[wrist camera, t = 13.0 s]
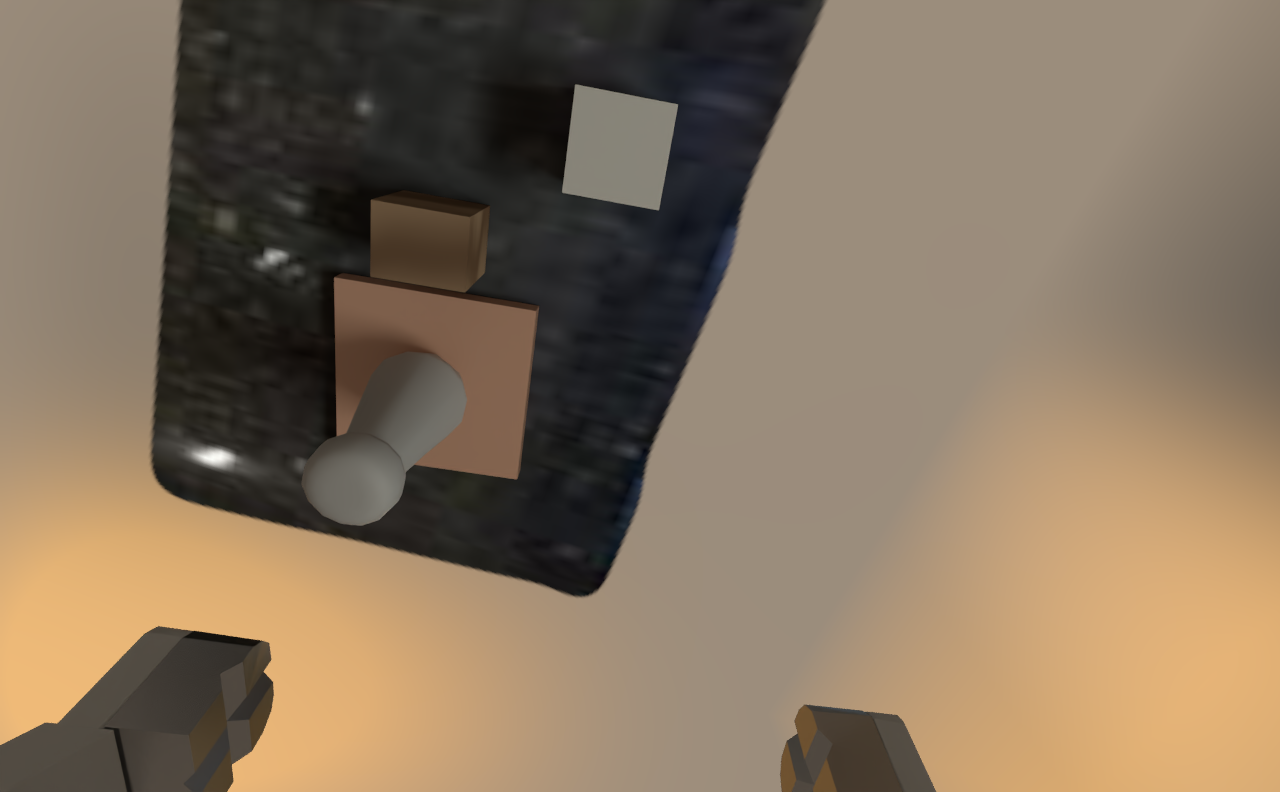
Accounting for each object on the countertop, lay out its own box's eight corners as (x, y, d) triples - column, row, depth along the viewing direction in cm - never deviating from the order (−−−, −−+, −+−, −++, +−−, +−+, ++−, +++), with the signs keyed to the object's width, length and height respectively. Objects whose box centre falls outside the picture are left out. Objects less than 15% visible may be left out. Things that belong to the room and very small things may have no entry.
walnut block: (403, 190, 36) (371, 199, 32) (490, 205, 37) (470, 217, 32) (402, 258, 38) (370, 276, 33) (485, 272, 38) (464, 292, 34)
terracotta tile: (342, 272, 38) (334, 277, 37) (538, 305, 39) (536, 311, 38) (344, 444, 43) (337, 453, 42) (519, 470, 44) (517, 479, 43)
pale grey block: (582, 89, 34) (575, 84, 30) (672, 107, 35) (678, 104, 30) (570, 184, 36) (562, 192, 32) (655, 199, 37) (658, 210, 32)
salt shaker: (368, 396, 40) (256, 511, 28) (404, 322, 38) (301, 413, 26) (451, 438, 41) (378, 566, 29) (491, 370, 39) (429, 476, 27)
